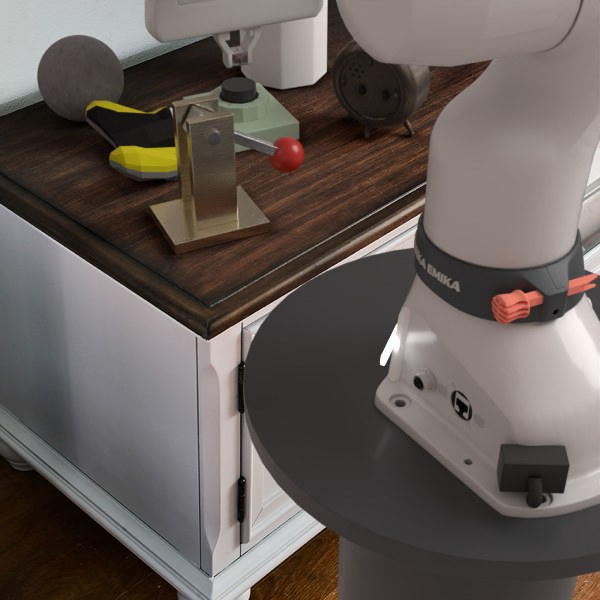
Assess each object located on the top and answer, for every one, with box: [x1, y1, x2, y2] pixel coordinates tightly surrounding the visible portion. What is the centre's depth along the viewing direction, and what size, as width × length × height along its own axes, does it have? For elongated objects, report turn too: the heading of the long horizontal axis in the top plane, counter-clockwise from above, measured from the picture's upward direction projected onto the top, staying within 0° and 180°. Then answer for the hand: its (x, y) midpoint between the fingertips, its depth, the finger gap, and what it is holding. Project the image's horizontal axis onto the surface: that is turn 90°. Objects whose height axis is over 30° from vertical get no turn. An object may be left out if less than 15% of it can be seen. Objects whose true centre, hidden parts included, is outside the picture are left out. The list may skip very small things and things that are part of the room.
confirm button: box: [220, 77, 256, 104], centre depth 120 cm, size 4×4×2 cm
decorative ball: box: [36, 34, 125, 123], centre depth 122 cm, size 10×10×10 cm
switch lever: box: [182, 106, 305, 173], centre depth 102 cm, size 13×4×4 cm, turn 114°
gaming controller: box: [86, 101, 178, 182], centre depth 114 cm, size 15×6×10 cm
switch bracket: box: [149, 94, 271, 255], centre depth 101 cm, size 10×8×13 cm
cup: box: [239, 0, 329, 91], centre depth 130 cm, size 11×11×18 cm
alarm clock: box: [331, 37, 432, 139], centre depth 117 cm, size 11×5×16 cm, turn 59°
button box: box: [182, 83, 300, 154], centre depth 121 cm, size 12×10×4 cm
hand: (237, 64), depth 118 cm, fingers closed
